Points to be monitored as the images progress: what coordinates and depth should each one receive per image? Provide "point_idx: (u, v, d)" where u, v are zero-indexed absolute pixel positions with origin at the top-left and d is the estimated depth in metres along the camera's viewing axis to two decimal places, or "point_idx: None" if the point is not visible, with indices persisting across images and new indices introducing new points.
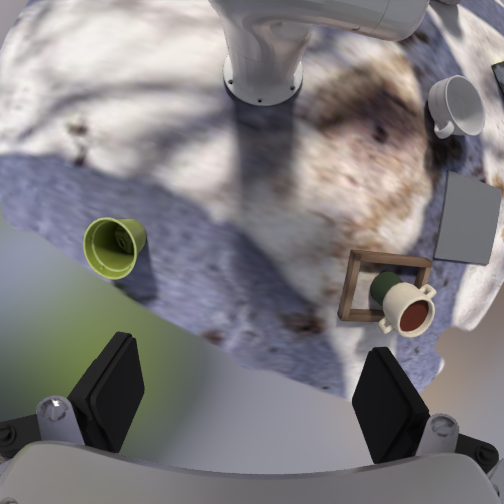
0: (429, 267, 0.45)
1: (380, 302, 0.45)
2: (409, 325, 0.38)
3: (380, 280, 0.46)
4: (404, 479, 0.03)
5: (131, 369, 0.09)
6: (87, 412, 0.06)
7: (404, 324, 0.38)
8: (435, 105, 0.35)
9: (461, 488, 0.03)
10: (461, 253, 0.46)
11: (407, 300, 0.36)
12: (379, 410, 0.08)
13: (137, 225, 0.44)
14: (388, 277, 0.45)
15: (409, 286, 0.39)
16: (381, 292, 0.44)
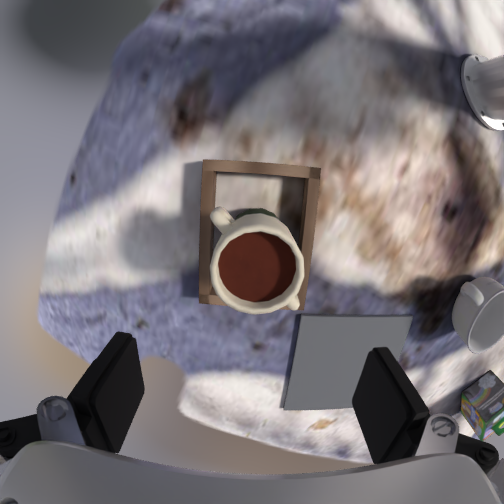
0: None
1: None
2: (232, 265, 0.22)
3: None
4: (404, 479, 0.03)
5: (131, 369, 0.09)
6: (87, 412, 0.06)
7: (236, 252, 0.22)
8: (487, 282, 0.30)
9: (461, 488, 0.03)
10: (304, 361, 0.38)
11: (294, 241, 0.21)
12: (379, 410, 0.08)
13: None
14: None
15: None
16: None
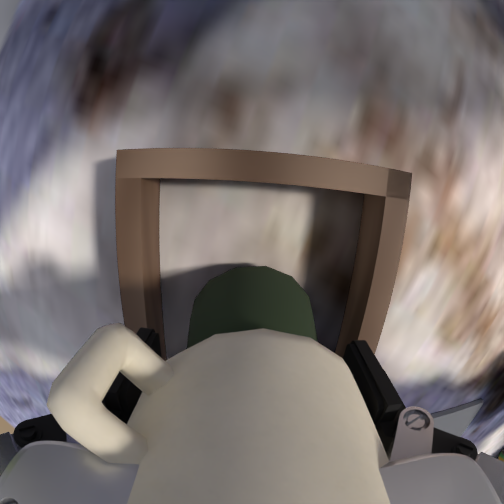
0: None
1: (215, 314, 0.10)
2: None
3: (298, 297, 0.12)
4: (404, 479, 0.03)
5: None
6: (116, 406, 0.07)
7: None
8: None
9: (461, 488, 0.03)
10: None
11: None
12: None
13: None
14: (314, 324, 0.12)
15: None
16: (270, 311, 0.10)
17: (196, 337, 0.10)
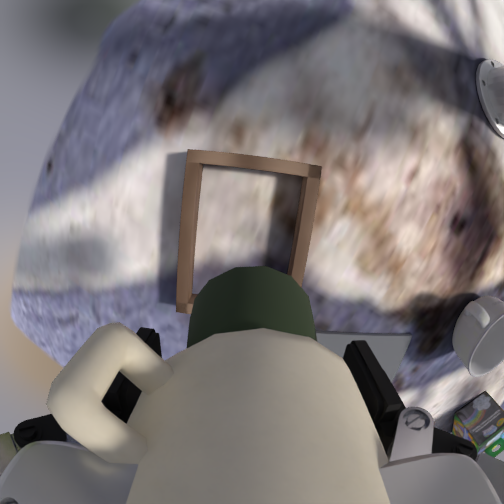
0: None
1: (215, 314, 0.10)
2: None
3: (297, 296, 0.12)
4: (404, 479, 0.03)
5: None
6: (116, 406, 0.07)
7: None
8: (492, 302, 0.27)
9: (461, 488, 0.03)
10: None
11: None
12: None
13: None
14: None
15: None
16: (270, 310, 0.10)
17: (195, 336, 0.10)
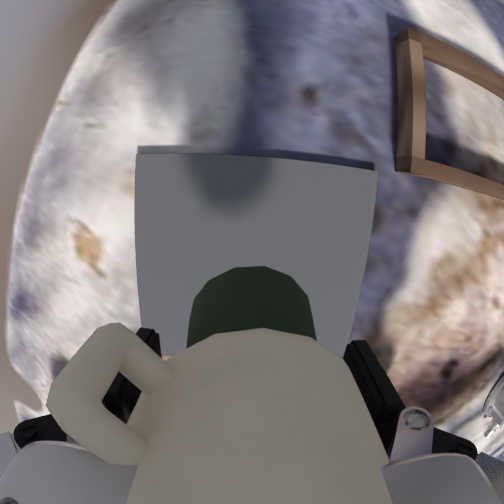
0: (416, 157, 0.17)
1: (214, 314, 0.10)
2: None
3: (297, 296, 0.12)
4: (404, 479, 0.03)
5: None
6: (116, 406, 0.07)
7: None
8: None
9: (461, 488, 0.03)
10: (279, 180, 0.20)
11: None
12: None
13: None
14: None
15: None
16: (269, 310, 0.10)
17: (195, 336, 0.10)
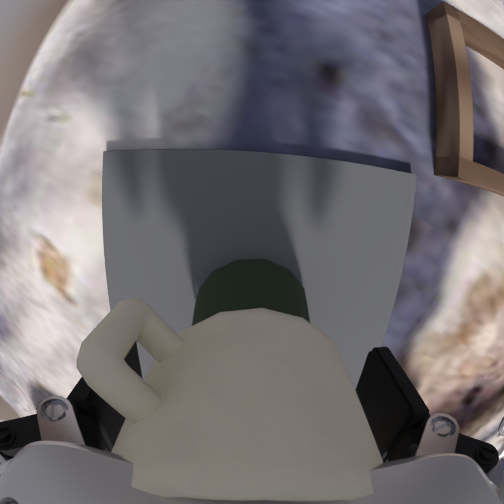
0: (464, 159, 0.12)
1: (219, 299, 0.12)
2: None
3: (294, 287, 0.13)
4: (404, 479, 0.03)
5: None
6: (87, 412, 0.06)
7: None
8: None
9: (461, 488, 0.03)
10: (291, 185, 0.14)
11: None
12: (379, 410, 0.08)
13: None
14: (308, 313, 0.13)
15: None
16: (268, 297, 0.11)
17: (200, 319, 0.11)
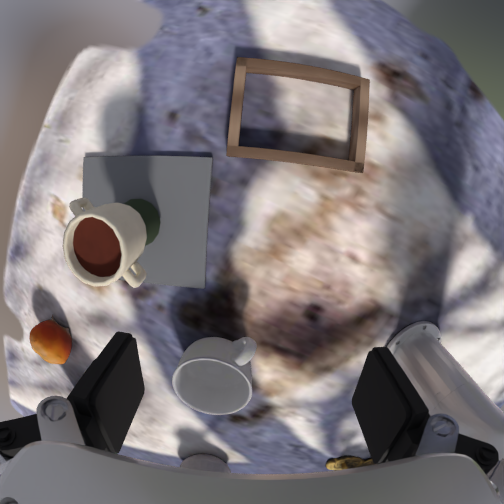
0: (231, 146, 0.31)
1: None
2: (81, 244, 0.24)
3: (147, 207, 0.32)
4: (404, 479, 0.03)
5: (131, 369, 0.09)
6: (87, 412, 0.06)
7: (83, 234, 0.23)
8: (250, 369, 0.37)
9: (461, 488, 0.03)
10: (152, 168, 0.33)
11: (119, 225, 0.23)
12: (379, 410, 0.08)
13: None
14: (152, 218, 0.32)
15: (141, 239, 0.27)
16: (130, 206, 0.30)
17: None
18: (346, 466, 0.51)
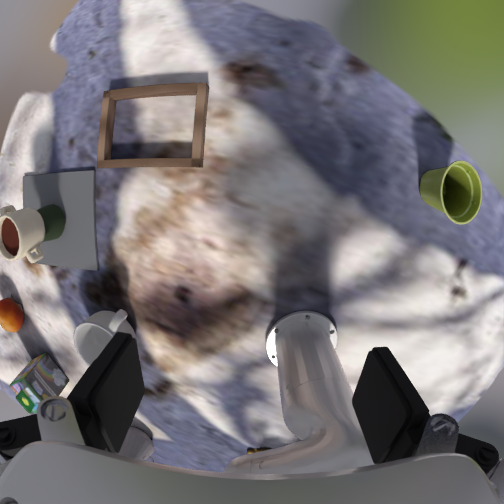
0: (99, 160, 0.37)
1: None
2: (5, 235, 0.30)
3: (54, 210, 0.39)
4: (404, 479, 0.03)
5: (131, 369, 0.09)
6: (87, 412, 0.06)
7: (5, 228, 0.30)
8: None
9: (461, 488, 0.03)
10: (60, 181, 0.40)
11: (18, 221, 0.29)
12: (379, 410, 0.08)
13: (427, 201, 0.39)
14: (56, 217, 0.39)
15: (37, 231, 0.33)
16: (41, 210, 0.37)
17: None
18: None
